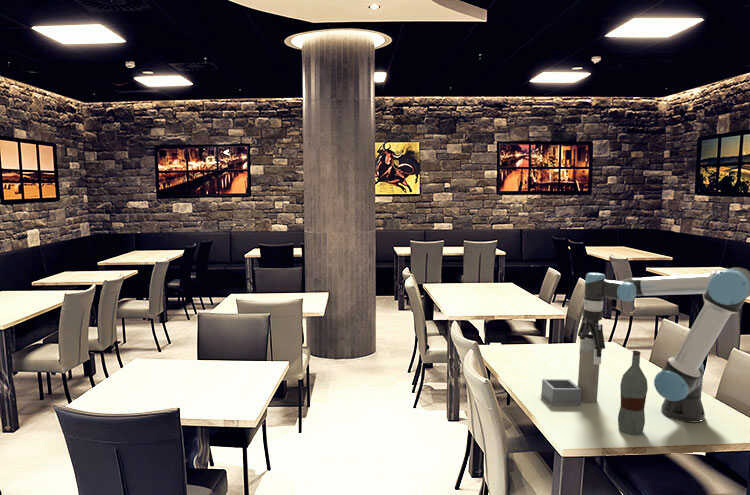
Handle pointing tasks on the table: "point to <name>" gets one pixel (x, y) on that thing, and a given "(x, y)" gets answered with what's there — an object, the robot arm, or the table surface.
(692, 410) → the robot arm
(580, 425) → the table surface
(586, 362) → the thermos bottle
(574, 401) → the bin
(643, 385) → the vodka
